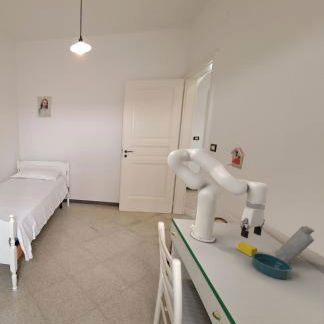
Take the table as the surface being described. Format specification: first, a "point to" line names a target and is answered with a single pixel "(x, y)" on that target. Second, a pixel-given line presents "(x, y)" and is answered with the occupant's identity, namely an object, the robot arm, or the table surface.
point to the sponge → (247, 248)
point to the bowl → (271, 265)
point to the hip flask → (295, 244)
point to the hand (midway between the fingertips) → (250, 235)
